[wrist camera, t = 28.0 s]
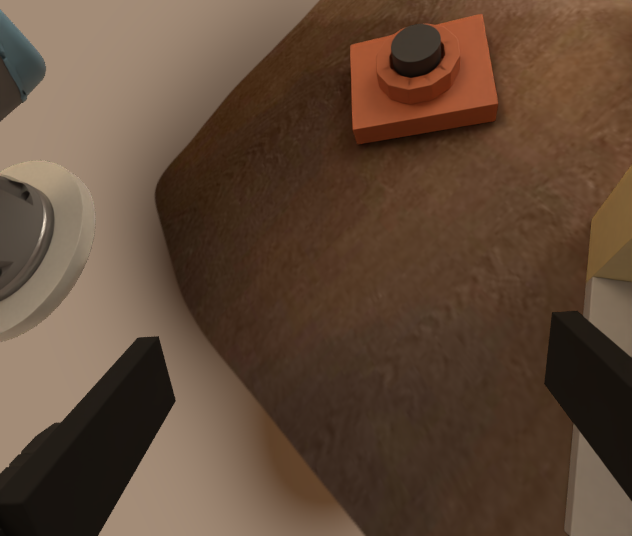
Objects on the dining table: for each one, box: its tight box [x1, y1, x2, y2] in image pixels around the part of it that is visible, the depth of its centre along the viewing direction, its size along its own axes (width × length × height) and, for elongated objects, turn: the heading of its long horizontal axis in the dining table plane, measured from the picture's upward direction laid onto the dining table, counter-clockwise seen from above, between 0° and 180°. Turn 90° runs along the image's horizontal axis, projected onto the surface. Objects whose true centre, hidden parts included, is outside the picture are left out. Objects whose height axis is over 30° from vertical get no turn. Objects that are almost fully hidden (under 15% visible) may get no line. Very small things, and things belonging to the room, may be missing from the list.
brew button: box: [391, 24, 441, 78], centre depth 35 cm, size 4×4×2 cm
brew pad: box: [350, 14, 498, 144], centre depth 37 cm, size 12×10×4 cm
